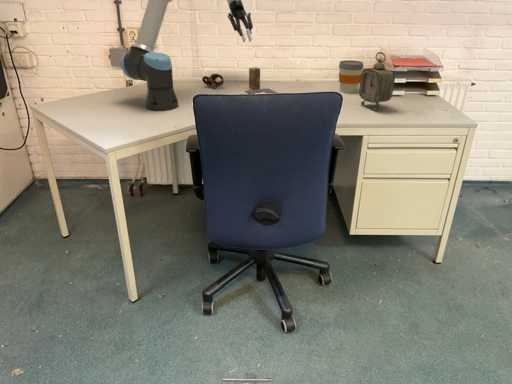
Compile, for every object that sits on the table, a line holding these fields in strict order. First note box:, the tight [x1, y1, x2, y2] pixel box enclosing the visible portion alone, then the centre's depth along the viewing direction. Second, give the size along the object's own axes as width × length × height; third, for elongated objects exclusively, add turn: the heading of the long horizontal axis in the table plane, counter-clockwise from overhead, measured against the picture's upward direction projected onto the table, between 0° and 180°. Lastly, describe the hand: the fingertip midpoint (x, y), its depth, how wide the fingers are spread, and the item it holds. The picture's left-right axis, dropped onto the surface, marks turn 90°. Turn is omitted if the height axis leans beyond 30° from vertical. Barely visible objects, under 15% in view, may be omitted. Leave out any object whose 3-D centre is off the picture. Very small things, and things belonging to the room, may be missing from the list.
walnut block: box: [248, 67, 261, 90], centre depth 218 cm, size 4×4×11 cm
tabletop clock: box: [358, 51, 396, 112], centre depth 185 cm, size 14×9×25 cm, turn 21°
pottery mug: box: [201, 73, 225, 90], centre depth 222 cm, size 12×10×8 cm
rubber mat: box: [244, 88, 278, 95], centre depth 213 cm, size 14×11×1 cm
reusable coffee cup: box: [338, 59, 364, 94], centre depth 215 cm, size 12×12×15 cm
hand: (247, 40), depth 217 cm, fingers open, 3 cm apart
